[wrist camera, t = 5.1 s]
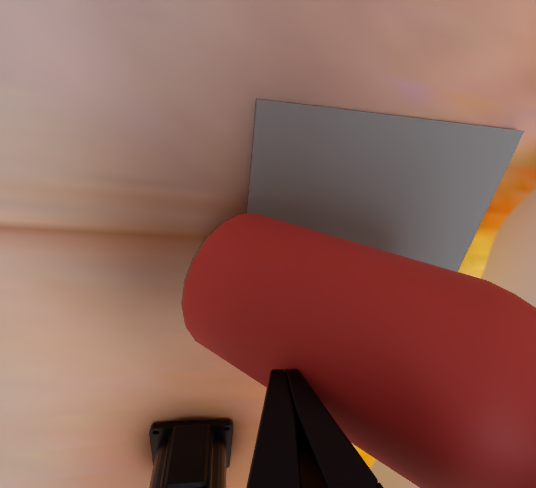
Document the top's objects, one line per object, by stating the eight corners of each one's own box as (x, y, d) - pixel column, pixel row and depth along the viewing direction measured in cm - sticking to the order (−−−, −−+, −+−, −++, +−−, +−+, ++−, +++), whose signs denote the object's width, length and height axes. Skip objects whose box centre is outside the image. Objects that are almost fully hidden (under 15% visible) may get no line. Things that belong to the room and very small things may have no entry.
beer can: (170, 224, 11) (672, 419, 5) (272, 200, 16) (570, 277, 10) (174, 365, 13) (505, 617, 7) (261, 305, 18) (495, 418, 12)
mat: (415, 347, 23) (419, 352, 22) (235, 349, 21) (235, 355, 20) (515, 129, 16) (524, 131, 15) (256, 98, 14) (257, 98, 13)
